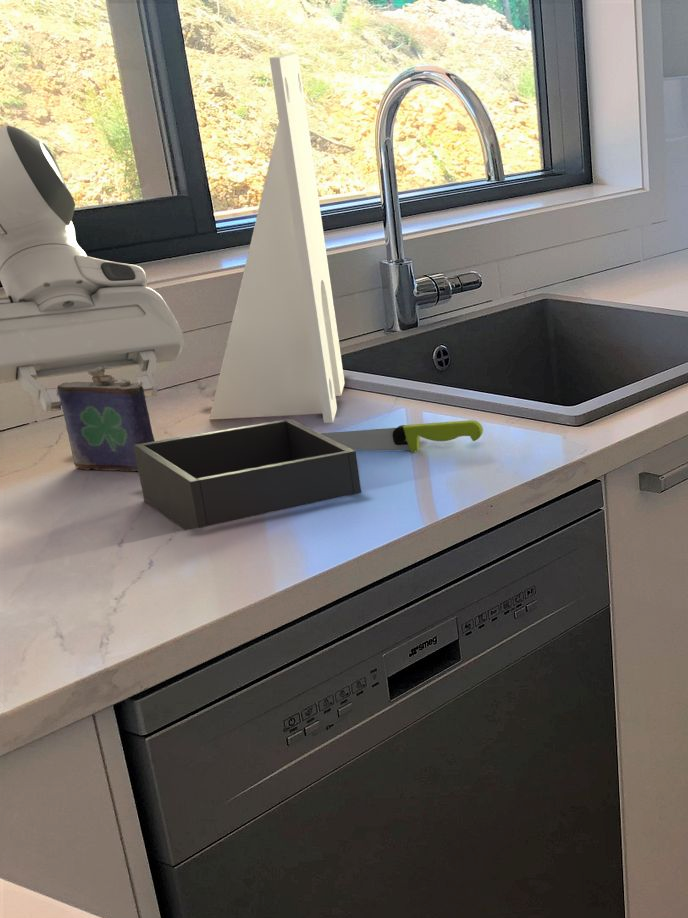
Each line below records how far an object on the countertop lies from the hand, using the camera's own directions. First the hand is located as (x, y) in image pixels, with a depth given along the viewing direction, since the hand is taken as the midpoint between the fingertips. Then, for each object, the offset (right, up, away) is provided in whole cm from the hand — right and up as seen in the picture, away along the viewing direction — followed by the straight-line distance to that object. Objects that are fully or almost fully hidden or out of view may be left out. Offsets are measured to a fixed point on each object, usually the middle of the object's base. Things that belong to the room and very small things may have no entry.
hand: (103, 401), depth 145 cm
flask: (0, -7, +2) cm, 7 cm away
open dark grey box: (+19, -12, -8) cm, 24 cm away
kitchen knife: (+26, -4, +9) cm, 28 cm away
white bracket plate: (+7, +4, +27) cm, 28 cm away
